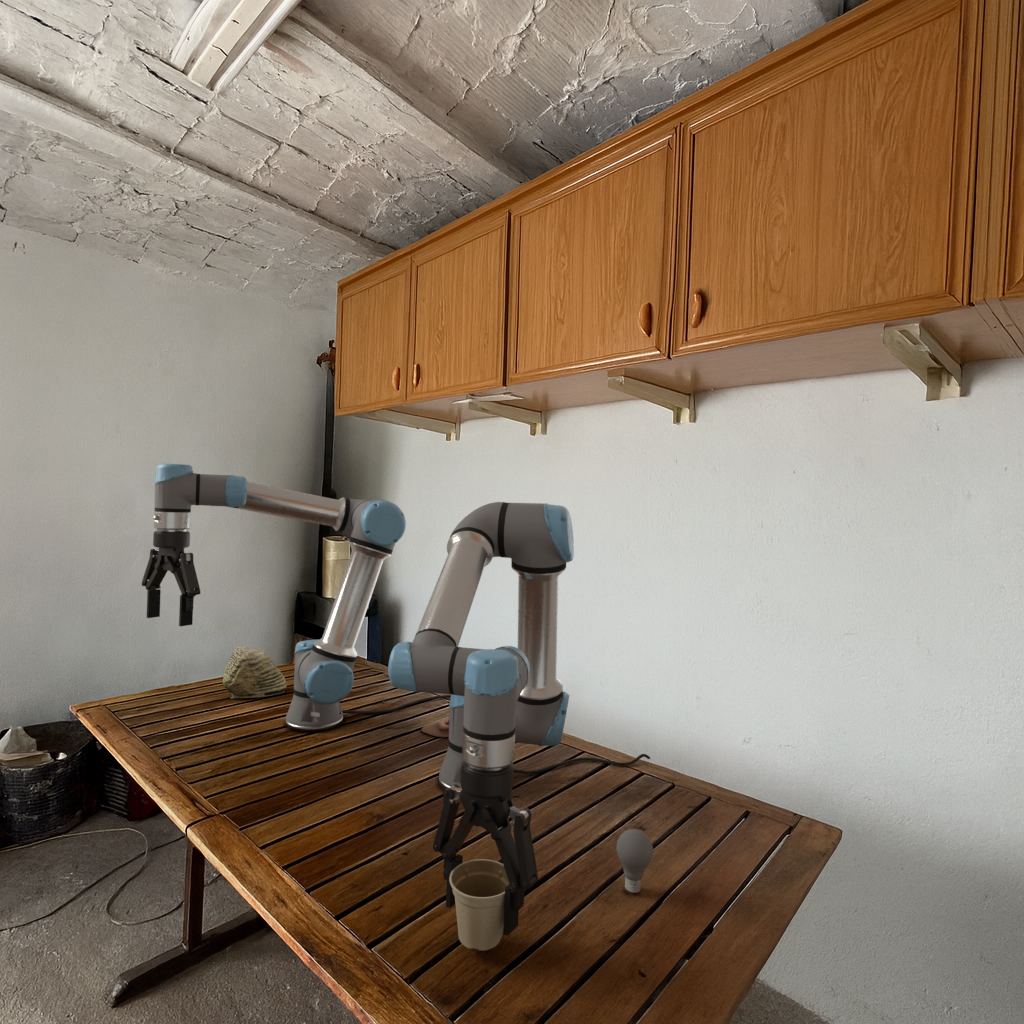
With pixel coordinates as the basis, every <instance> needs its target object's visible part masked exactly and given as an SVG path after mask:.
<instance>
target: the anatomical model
mask: <svg viewBox="0 0 1024 1024" xmlns="http://www.w3.org/2000/svg"><path fill="white" fill-rule="evenodd" d="M449 718H450V716H449V717H446V718H443V719H441V720H438V721H433V722H431V723H428V724H426V725H425V726H422V728H421V729H420V730H421V732H422V733H424V734H426V735H430V736H433V737H438V738H439V737H440V738H447V737H448V738H449Z"/></svg>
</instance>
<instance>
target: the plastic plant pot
mask: <svg viewBox="0 0 1024 1024" xmlns="http://www.w3.org/2000/svg"><path fill="white" fill-rule="evenodd" d="M449 881H450V885H451V887H452V890H453V894H454V896H455V904H454V905H455V912H456V913H455V914H456V923H457V937H458V939H459V942H460V943H461V944H462V945H463V946H464V948H467V949H469V950H472V949H475V950H478V951H479V952H484V951H488V950H492V949H494V948H495V947H497V946H498V945H499V944H500V942H501V940H502V938H503V927H504V903H505V887H506V886H507V885H508V884H510V883H509V880H508V877H507V874H506V871H505V868H504V865H503V862H500V861H497V860H493V859H488V858H487V859H486V858H475V859H474V858H473V859H470V860H465V861H463V862H462V863H461V864H459V865H458V866H457V867H455V868H454V869H453V870H452V872H451V873H450V877H449Z"/></svg>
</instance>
